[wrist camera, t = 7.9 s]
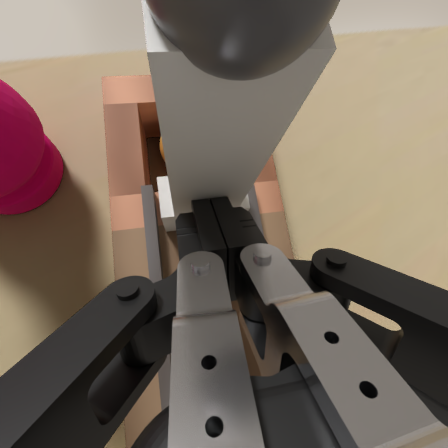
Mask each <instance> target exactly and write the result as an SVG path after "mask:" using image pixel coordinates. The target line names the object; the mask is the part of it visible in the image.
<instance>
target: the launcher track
mask: <svg viewBox="0 0 448 448" xmlns="http://www.w3.org/2000/svg"><path fill="white" fill-rule="evenodd" d="M102 90H103V105H104V121H105V136H106V151H107V166H108V181H109V197H110V212H111V227H112V242H113V257H114V273H115V281H116V280H118V279H121V278H124V277H127V276H143V277H146V278H148V279H150V280H151V281H152V282H153V283H155V282H157V281H160V280H162V279H164V278H166V277H168V276H170V275H171V274H172V273H173V272H174V271H175V270H176V269H177V267H178V263H179V252H178V243H177V233H176V231H168V232H166V230H165V227H164V225H163V222H162V219H161V212H160V202H159V193H158V192H154V189H153V186H152V185H151V180H150V170H149V160H148V150H147V140H146V137H160V136H161V132H160V126H159V120H158V114H157V108H156V102H155V96H154V90H153V84H152V78H151V75H139V76H107V77H102ZM248 198H249V204H250V209H249V210H248V211H249V212H250V214H251V215H252V217H253V219H254V221H255V222H256V224H257V226H258V227H259V229H260V231H261V233H262V234H263V236H264V238H265V239H266V241H267V243H268V244H270V245H273V246H275V247H277V248H279V249H280V250H281V251H282V252H283V253H284V255H285V256H286V257H287V258H288V259H294V257H293V252H292V247H291V242H290V238H289V233H288V228H287V223H286V218H285V214H284V209H283V204H282V199H281V195H280V190H279V185H278V180H277V175H276V171H275V166H274V161H273V156H272V155H271V156H270V158H269V160H268V161H267V163H266V164H265V166H264V168H263V169H262V171H261V173H260V174H259V176H258V178H257V179H256V181H255V182H254V184H253V186H252V187H251V189H250V191H249V192H248ZM231 304H232V309H233V310H236V313H237V317H238V322H239V326H240V331H241V336H242V341H243V346H244V350H245V355H246V360H247V365H248V370H249V374H250V376H261V373H260V369H259V366H258V363H257V361H256V359H255V356H254V354H253V351H252V349H251V346H250V344H249V341H248V339H247V336H246V334H245V332H244V329H243V327H242V324H241V322H240V319H239V304H238V301H237V300H236V301H231ZM170 375H171V353H170V354H168V355H167V357H166V360H165V362H164V364H163V365H162V367H161V368H160V370H159V371H158V372H157V374H156V375H155V377H154V378H153V379H152V381H151V382H150V384H149V385H148V386H147V388H146V389H145V391H144V392H143V393H142V395H141V396H140V398H139V399H138V400H137V402H136V403H135V405H134V406H133V407H132V409H131V410H130V412H129V413H128V414H127V416H126V417H125V419H124V425H125V440H126V448H131V446H132V445H133V443H134V442H135V440H136V439H137V437H138V436H139V435H140V433H141V432H142V431H143V430H144V428H145V427H146V426H147V425H148V424H149V423H150V422H151V421H152V419H153V418H154V417H155V416H157V415H158V414H159V413H160V412H161V411H162V410H164V409H165V408H166V407H168V406H169V400H170Z"/></svg>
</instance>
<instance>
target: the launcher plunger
mask: <svg viewBox="0 0 448 448" xmlns="http://www.w3.org/2000/svg"><path fill="white" fill-rule="evenodd" d="M141 1H142V10H143V19H144V27H145V37H146V46H147V54H148V60H149V66H150V72H151V78H152V84H153V90H154V96H155V102H156V108H157V114H158V120H159V126H160V132H161V138H162V144H163V150H164V156H165V162H166V168H167V175H168V176H163V177H157V184H158V193H159V202H160V212H161V219H162V222H163V225H164V227H165V230H166V232H168V231H176V223H175V220H176V219H177V217H178V216H179V214H180V213H189V212H192V208H191V200H199V199H209V200H210V198H218V197H228V198H229V200H230V202H231V204H232V206H233V207H243V208H244V209H246V210H247V211H248V210H249V209H250V204H249V198H248V192H249V191H250V189H251V187H252V186H253V184H254V182H255V181H256V179H257V178H258V176H259V174H260V173H261V171H262V169H263V168H264V166H265V164H266V163H267V161H268V160H269V158H270V156H271V155H272V153H273V151H274V150H275V148H276V147H277V145H278V143H279V142H280V140H281V138H282V137H283V135H284V134H285V132H286V130H287V129H288V127H289V125H290V124H291V122H292V120H293V119H294V117H295V116H296V114H297V112H298V111H299V109H300V107H301V106H302V104H303V103H304V101H305V99H306V98H307V96H308V94H309V93H310V91H311V90H312V88H313V86H314V85H315V83H316V81H317V80H318V78H319V76H320V75H321V73H322V72H323V70H324V68H325V67H326V65H327V63H328V62H329V60H330V59H331V57H332V55H333V54H334V52H335V50H336V49H337V48H336V45H335V41H334V38H333V35H332V31H331V28H330V24H329V21H330V19H331V18H332V16H333V15H334V12H335V10H336V8H337V6H338V4H339V2H340V0H141Z"/></svg>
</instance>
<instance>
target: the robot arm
mask: <svg viewBox="0 0 448 448" xmlns="http://www.w3.org/2000/svg"><path fill="white" fill-rule="evenodd" d="M191 208H192V212H189V213H180V214H179V216H178V217H177V219H176V220H175V223H176V233H177V243H178V252H179V263H178V267H177V269H176V270H175V271H174V272H173V273H172V274H171V275H170V276H168V277H166V278H164V279H162V280H160V281H157V282H155V283H153V282H152V281H151V280H150V279H148V278H146V277H143V276H127V277H124V278H121V279H118V280H116V281H115V282H113V283H111V284H110V285H109V286H108V287H106V288H105V289H104V290H103V291H102V292H101V293H99V294H98V295H97V296H96V297H95V298H93V299H92V300H91V301H90V302H89V303H88V304H86V305H85V306H84V307H83V308H82V309H80V310H79V311H78V312H77V313H76V314H74V315H73V316H72V317H71V318H70V319H69V320H67V321H66V322H65V323H64V324H63V325H61V326H60V327H59V328H58V329H57V330H56V331H54V332H53V333H52V334H51V335H50V336H48V337H47V338H46V339H45V340H44V341H43V342H41V343H40V344H39V345H38V346H37V347H35V348H34V349H33V350H32V351H31V352H29V353H28V354H27V355H26V356H25V357H24V358H22V359H21V360H20V361H19V362H18V363H16V364H15V365H14V366H13V367H12V368H11V369H9V370H8V371H7V372H6V373H5V374H3V375H2V376H1V377H0V448H104V447H105V445H106V444H107V442H108V441H109V440H110V438H111V437H112V435H113V434H114V433H115V431H116V430H117V428H118V427H119V426H120V424H121V423H122V421H123V420H124V419H125V417H126V416H127V414H128V413H129V412H130V410H131V409H132V407H133V406H134V405H135V403H136V402H137V400H138V399H139V398H140V396H141V395H142V393H143V392H144V391H145V389H146V388H147V386H148V385H149V384H150V382H151V381H152V379H153V378H154V377H155V375H156V374H157V372H158V371H159V370H160V368H161V367H162V365H163V364H164V362H165V360H166V357H167V355H168V354H170V353H171V375H170V400H169V406H168V407H166V408H165V409H164V410H162V411H161V412H160V413H159V414H158V415H157V416H155V417H154V418H153V419H152V421H151V422H150V423H149V424H148V425H147V426H146V427H145V428H144V430H143V431H142V432H141V433H140V435H139V436H138V437H137V439H136V440H135V442H134V443H133V445H132V446H131V448H448V291H447V290H445V289H442V288H439V287H437V286H434V285H432V284H429V283H426V282H424V281H421V280H418V279H416V278H413V277H411V276H408V275H405V274H403V273H400V272H398V271H395V270H392V269H390V268H387V267H384V266H382V265H379V264H377V263H374V262H371V261H369V260H366V259H364V258H361V257H358V256H356V255H353V254H350V253H348V252H345V251H342V250H339V249H333V248H325V249H321V250H318V251H316V252H315V253H314V254H313V256H312V261H306V260H294V259H288V258H287V257H286V256H285V255H284V253H283V252H282V251H281V250H280V249H279V248H277V247H275V246H273V245H270V244H268V243H267V241H266V239H265V238H264V236H263V234H262V233H261V231H260V229H259V227H258V226H257V224H256V222H255V221H254V219H253V217H252V215H251V214H250V212H249V211H247V210H246V209H244V208H243V207H233V206H232V204H231V202H230V200H229V198H228V197H218V198H210V200H209V199H199V200H191ZM236 300H237V301H238V304H239V319H240V322H241V324H242V327H243V329H244V332H245V334H246V336H247V339H248V341H249V344H250V346H251V349H252V351H253V354H254V356H255V359H256V361H257V363H258V366H259V369H260V373H261V376H250V374H249V370H248V365H247V360H246V355H245V350H244V346H243V341H242V336H241V331H240V326H239V322H238V317H237V313H236V310H233V309H232V304H231V301H236ZM351 301H353V302H355V303H357V304H359V305H361V306H364V307H366V308H368V309H370V310H372V311H374V312H376V313H378V314H380V315H382V316H385V317H387V318H389V319H391V320H393V321H395V322H396V323H397V324H398V325H399V326H400V327H401V328H402V329H401V330H398V331H392V330H389V329H386V328H384V327H382V326H380V325H378V324H376V323H374V322H372V321H370V320H368V319H366V318H364V317H362V316H360V315H358V314H356V313H354V312H352V311H350V310H348V308H349V305H350V302H351Z"/></svg>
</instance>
